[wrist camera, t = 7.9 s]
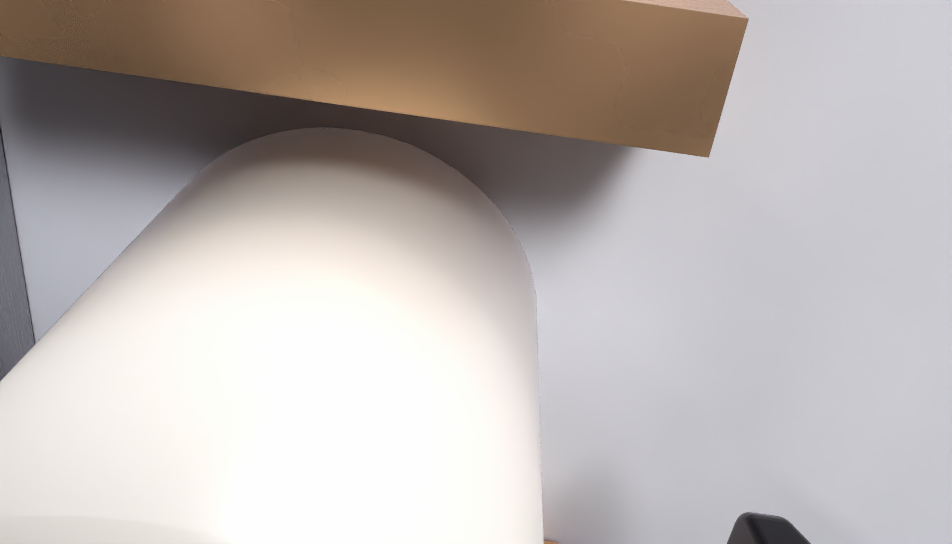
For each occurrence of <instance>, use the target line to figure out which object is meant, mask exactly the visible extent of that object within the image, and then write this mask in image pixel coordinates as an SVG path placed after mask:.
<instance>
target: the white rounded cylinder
mask: <svg viewBox="0 0 952 544" xmlns="http://www.w3.org/2000/svg"><path fill="white" fill-rule="evenodd" d="M0 544H544V542H543V508H542V474H541V440H540V406H539V371H538V337H537V305H536V292H535V287H534V281H533V276H532V272H531V269H530V266H529V263H528V260H527V258H526V255H525V252H524V250H523V248H522V246H521V244H520V242H519V240H518V238H517V236H516V234H515V232H514V230H513V229H512V227H511V226H510V224H509V223H508V222H507V220H506V219H505V217H504V216H503V214H502V213H501V212H500V210H499V209H498V208H497V207H496V206H495V204H494V203H493V202H492V201H491V200H490V199H489V198H488V197H487V196H486V195H485V194H484V193H483V191H482V190H481V189H480V188H478V187H477V186H476V185H475V184H474V183H472V182H471V181H470V180H469V179H468V178H466V177H465V176H464V175H463V174H462V173H460V172H459V171H457V170H456V169H454V168H453V167H451V166H450V165H448V164H447V163H445V162H443V161H442V160H440V159H439V158H437V157H435V156H433V155H431V154H429V153H427V152H425V151H423V150H421V149H419V148H417V147H415V146H413V145H410V144H408V143H405V142H402V141H399V140H396V139H393V138H390V137H387V136H384V135H379V134H374V133H370V132H365V131H360V130H354V129H342V128H330V127H324V128H302V129H295V130H289V131H283V132H278V133H273V134H269V135H266V136H263V137H260V138H257V139H254V140H251V141H248V142H246V143H244V144H242V145H240V146H238V147H236V148H234V149H232V150H230V151H228V152H225V153H224V154H222V155H221V156H219V157H218V158H217V159H215V160H214V161H212V162H211V163H209V164H208V165H207V166H205V167H204V168H203V169H202V170H201V171H200V172H199V173H198V174H197V175H195V176H194V177H193V178H192V179H191V180H190V181H189V182H188V183H187V184H186V185H185V186H184V187H183V188H182V189H181V191H180V192H179V193H178V194H177V195H176V196H175V197H174V198H173V199H172V200H171V201H170V202H169V203H168V204H167V205H166V206H165V207H164V209H163V210H162V211H161V212H160V213H159V214H158V215H157V216H156V217H155V218H154V219H153V220H152V221H151V222H150V223H149V224H148V225H147V227H146V228H145V229H144V230H143V231H142V232H141V233H140V234H139V235H138V236H137V237H136V238H135V239H134V240H133V241H132V242H131V243H130V245H129V246H128V247H127V248H126V249H125V250H124V251H123V252H122V253H121V254H120V255H119V256H118V257H117V258H116V259H115V260H114V261H113V263H112V264H111V265H110V266H109V267H108V268H107V269H106V270H105V271H104V272H103V273H102V274H101V275H100V276H99V277H98V278H97V279H96V281H95V282H94V283H93V284H92V285H91V286H90V287H89V288H88V289H87V290H86V291H85V292H84V293H83V294H82V295H81V296H80V297H79V299H78V300H77V301H76V302H75V303H74V304H73V305H72V306H71V307H70V308H69V309H68V310H67V311H66V312H65V313H64V314H63V315H62V317H61V318H60V319H59V320H58V321H57V322H56V323H55V324H54V325H53V326H52V327H51V328H50V329H49V330H48V331H47V332H46V333H45V335H44V336H43V337H42V338H41V339H40V340H39V341H38V342H37V343H36V344H35V345H34V346H33V347H32V348H31V349H30V350H29V351H28V353H27V354H26V355H25V356H24V357H23V358H22V359H21V360H20V361H19V362H18V363H17V364H16V365H15V366H14V367H13V368H12V369H11V371H10V372H9V373H8V374H7V375H6V376H5V377H4V378H3V379H2V380H1V381H0Z"/></svg>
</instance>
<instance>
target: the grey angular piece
mask: <svg viewBox="0 0 952 544" xmlns="http://www.w3.org/2000/svg"><path fill="white" fill-rule="evenodd" d="M748 19H749V18H747V17H746V16H745V15H744V14H743V13H741V12H740V11H739V10H738V9H737V8H735V7H734V6H733V5H732V4H731V3H730V2H728V1H727V0H0V56H4V57H11V58H18V59H25V60H32V61H39V62H46V63H52V64H59V65H66V66H73V67H80V68H87V69H94V70H101V71H108V72H115V73H122V74H129V75H136V76H143V77H150V78H157V79H164V80H171V81H178V82H185V83H192V84H199V85H206V86H213V87H220V88H227V89H234V90H241V91H248V92H255V93H262V94H269V95H276V96H283V97H290V98H297V99H304V100H311V101H318V102H325V103H332V104H339V105H346V106H353V107H360V108H367V109H374V110H381V111H388V112H395V113H402V114H409V115H415V116H422V117H429V118H436V119H443V120H450V121H457V122H464V123H471V124H478V125H485V126H492V127H499V128H506V129H513V130H520V131H527V132H534V133H541V134H548V135H555V136H562V137H569V138H576V139H583V140H590V141H597V142H604V143H611V144H618V145H625V146H632V147H639V148H646V149H653V150H660V151H667V152H674V153H681V154H688V155H695V156H702V157H709V155H710V151H711V148H712V144H713V141H714V137H715V134H716V130H717V127H718V123H719V120H720V116H721V113H722V110H723V106H724V103H725V99H726V96H727V92H728V89H729V85H730V82H731V78H732V75H733V71H734V68H735V64H736V61H737V57H738V54H739V51H740V47H741V44H742V40H743V37H744V33H745V30H746V26H747V23H748ZM34 345H35V343H34V337H33V331H32V325H31V318H30V312H29V306H28V300H27V294H26V288H25V282H24V275H23V269H22V263H21V257H20V251H19V245H18V239H17V232H16V226H15V220H14V214H13V208H12V202H11V195H10V189H9V183H8V177H7V171H6V165H5V159H4V152H3V146H2V140H1V134H0V381H1V380H2V379H3V378H4V377H5V376H6V375H7V374H8V373H9V372H10V371H11V369H12V368H13V367H14V366H15V365H16V364H17V363H18V362H19V361H20V360H21V359H22V358H23V357H24V356H25V355H26V354H27V353H28V351H29V350H30V349H31V348H32V347H33V346H34ZM543 542H544V544H558V542H552V541H545V540H543Z"/></svg>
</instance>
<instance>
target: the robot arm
mask: <svg viewBox="0 0 952 544" xmlns="http://www.w3.org/2000/svg"><path fill="white" fill-rule="evenodd" d="M727 544H811V543H810V542H809V541H808V540H807V539H806V538H805V537H804V536H803V535H802V534H801V533H800V532H799V531H798V530H797V529H796V528H795V527H794V526H793V525H792V524H791V523H790V522H789V521H788V520H786V519H785V518H782V517H779V516H773V515H766V514H759V513H751V512H747V513H743V514H741V515H740V516H739V517H738V519H737V520H736V522H735V524H734V527H733V530H732V532H731V535H730V537H729V540H728V542H727Z"/></svg>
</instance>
